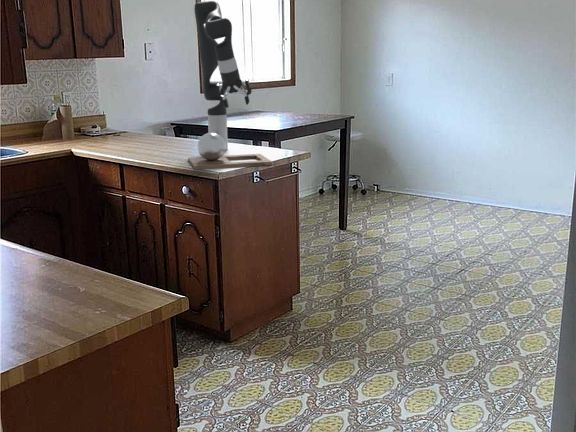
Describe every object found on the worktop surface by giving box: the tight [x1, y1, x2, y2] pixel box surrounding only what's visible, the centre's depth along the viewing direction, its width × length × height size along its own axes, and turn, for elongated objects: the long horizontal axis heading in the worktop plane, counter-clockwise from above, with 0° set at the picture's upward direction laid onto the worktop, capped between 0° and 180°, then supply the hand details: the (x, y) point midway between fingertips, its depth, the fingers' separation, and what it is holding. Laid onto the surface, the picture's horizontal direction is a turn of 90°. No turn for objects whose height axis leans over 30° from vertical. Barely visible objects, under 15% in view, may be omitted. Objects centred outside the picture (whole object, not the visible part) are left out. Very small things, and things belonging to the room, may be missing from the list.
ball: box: [196, 132, 226, 161], centre depth 270 cm, size 12×12×12 cm
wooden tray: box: [187, 153, 273, 170], centre depth 274 cm, size 22×33×2 cm, turn 106°
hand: (237, 105), depth 264 cm, fingers open, 8 cm apart
